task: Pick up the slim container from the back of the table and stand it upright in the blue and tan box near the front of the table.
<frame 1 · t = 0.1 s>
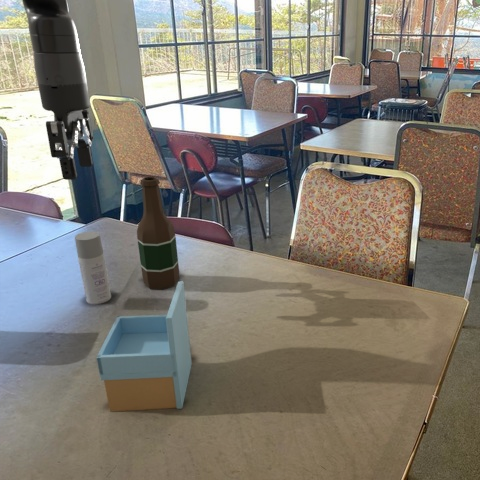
hand: (78, 172, 89), 27 cm above the table, tool pointing down, fingers open, 8 cm apart
container: (99, 303, 99), on the table
beer bottle: (162, 282, 107), on the table
blue and tan box: (151, 386, 76), on the table
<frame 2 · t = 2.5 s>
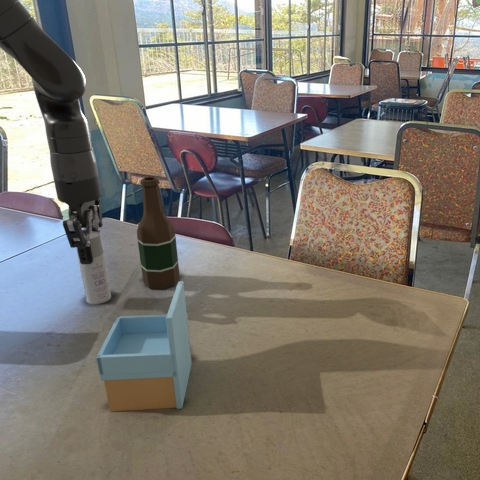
hand: (91, 257, 95), 10 cm above the table, tool pointing down, fingers closed on container, 4 cm apart
container: (99, 303, 99), on the table, touching gripper
everything else where it was.
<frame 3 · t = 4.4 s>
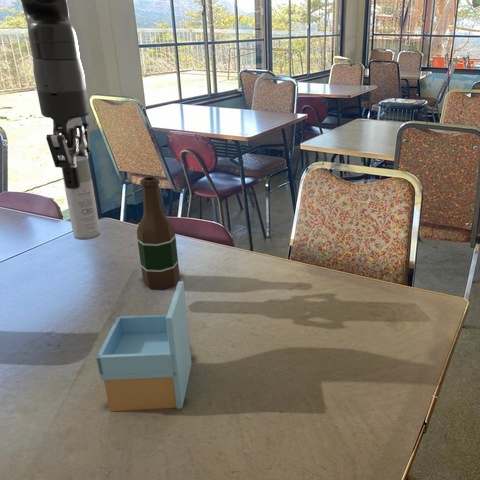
hand: (78, 183, 88), 26 cm above the table, tool pointing down, fingers closed on container, 4 cm apart
container: (87, 236, 92), point 15 cm above the table, touching gripper
everything else where it was.
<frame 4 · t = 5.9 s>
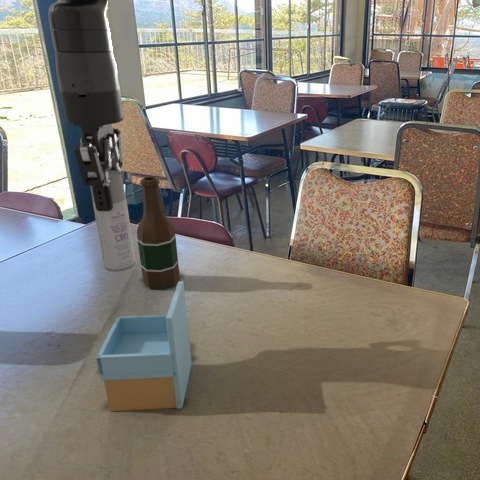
hand: (109, 204, 72), 28 cm above the table, tool pointing down, fingers closed on container, 4 cm apart
container: (120, 266, 77), point 17 cm above the table, touching gripper
everything else where it was.
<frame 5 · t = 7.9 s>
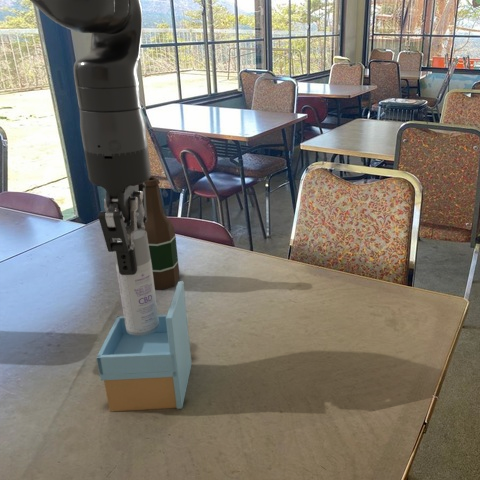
hand: (133, 264, 67), 22 cm above the table, tool pointing down, fingers closed on container, 4 cm apart
container: (142, 327, 72), point 11 cm above the table, touching gripper
everything else where it was.
when the fingers open (17 cm above the table, at t = 9.4 s): container stays where it is, resting on blue and tan box.
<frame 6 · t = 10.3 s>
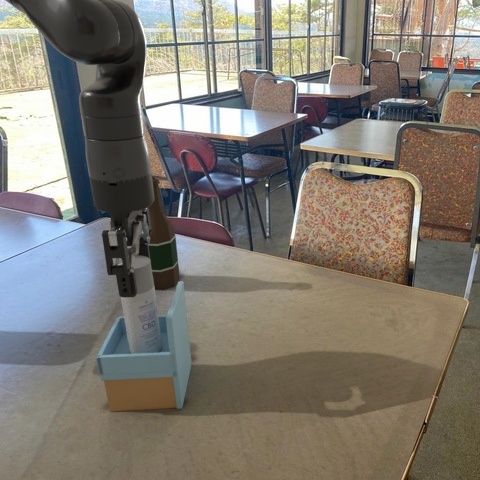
hand: (136, 280, 68), 19 cm above the table, tool pointing down, fingers open, 8 cm apart
container: (146, 351, 73), point 7 cm above the table, touching blue and tan box
everything else where it was.
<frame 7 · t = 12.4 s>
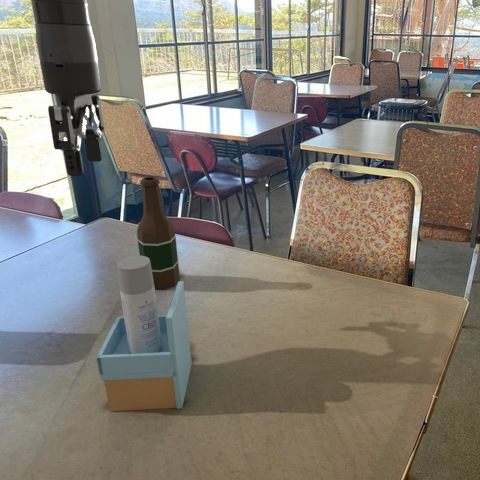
hand: (86, 167, 76), 32 cm above the table, tool pointing down, fingers open, 8 cm apart
nothing on the table moved.
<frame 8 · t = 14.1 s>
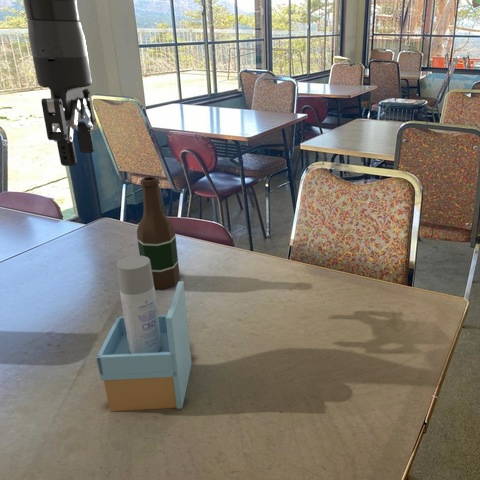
hand: (78, 158, 79), 32 cm above the table, tool pointing down, fingers open, 8 cm apart
nothing on the table moved.
at the end: container inside the target area on the blue and tan box (0.1 cm from its centre), point 6.8 cm above the blue and tan box's base; container tilted 0°; the gripper is holding nothing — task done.
